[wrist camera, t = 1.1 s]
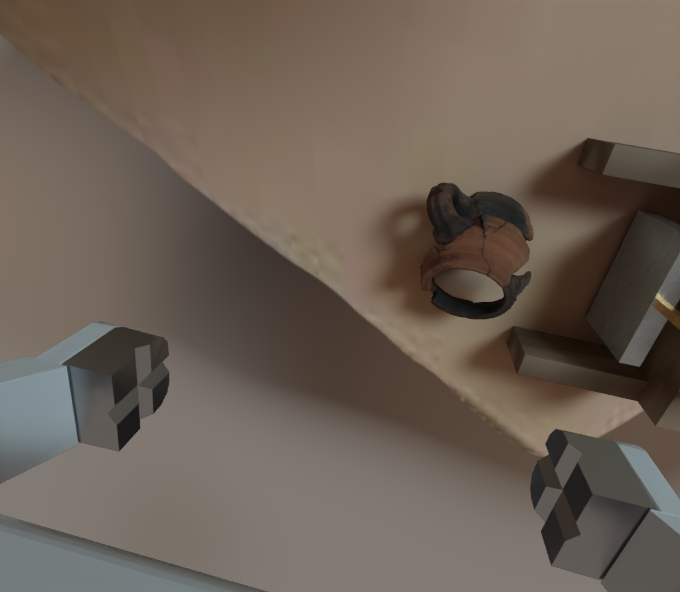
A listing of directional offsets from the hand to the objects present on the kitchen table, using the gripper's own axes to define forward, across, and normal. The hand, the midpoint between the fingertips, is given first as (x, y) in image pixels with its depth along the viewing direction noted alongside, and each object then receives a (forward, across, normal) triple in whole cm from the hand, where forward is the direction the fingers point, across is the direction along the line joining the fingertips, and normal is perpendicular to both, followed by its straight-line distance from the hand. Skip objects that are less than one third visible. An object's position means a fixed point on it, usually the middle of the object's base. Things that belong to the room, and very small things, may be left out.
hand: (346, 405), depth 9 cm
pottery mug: (+30, -7, +3) cm, 31 cm away
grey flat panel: (+30, -20, +3) cm, 36 cm away
